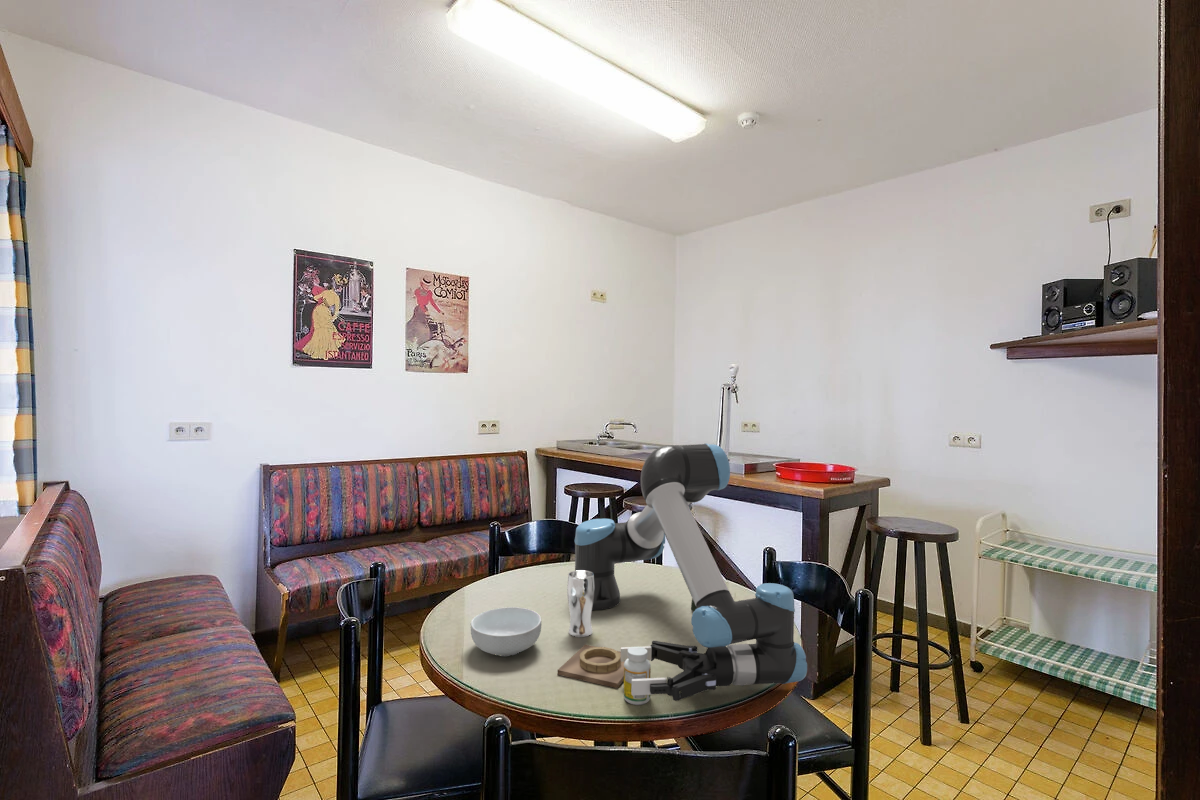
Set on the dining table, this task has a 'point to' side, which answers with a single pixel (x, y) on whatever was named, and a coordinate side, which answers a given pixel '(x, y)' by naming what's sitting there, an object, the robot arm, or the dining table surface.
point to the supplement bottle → (636, 673)
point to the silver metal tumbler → (580, 602)
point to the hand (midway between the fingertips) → (625, 669)
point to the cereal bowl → (506, 630)
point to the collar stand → (595, 666)
